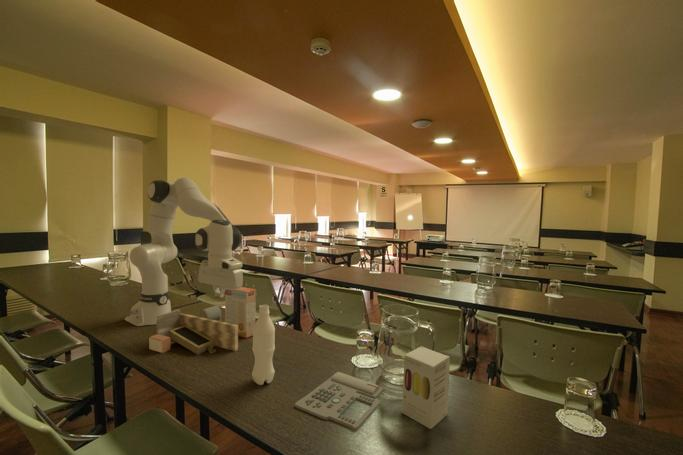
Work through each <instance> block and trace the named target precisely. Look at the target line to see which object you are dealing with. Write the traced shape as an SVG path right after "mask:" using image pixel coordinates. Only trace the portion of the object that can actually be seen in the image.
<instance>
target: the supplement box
mask: <svg viewBox="0 0 683 455" xmlns="http://www.w3.org/2000/svg"><path fill="white" fill-rule="evenodd" d="M403 358H404V359H403V382H402V384H403V385H402V405H401V407H402V408H401V413H402V414H404V415H405V416H407V417H409V418H410V419H412V420H414V421H415V422H417V423H419V424H421V425H423V426H424V427H426V428H428V429H429V430H432V429H433V428H435V426H437V425H438V424H439V423H440V422H441V421H442V420H443V419H445V417H446V416H448V409H449V408H448V407H449V386H450V367H451V366H450V364H451V358H450V356H449V355H446V354H444V353H440V352H439V351H434V350H432V349H429V348H427V347H425V346H422V345H421V346H418V347H417V348H415V349H414V350H412V351H411V350H410V352H406V353H405V354H404V357H403Z"/></svg>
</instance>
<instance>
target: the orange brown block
mask: <svg viewBox="0 0 683 455" xmlns="http://www.w3.org/2000/svg"><path fill="white" fill-rule="evenodd" d="M148 337H149V338H148V349H149V350H151V351H153V352H157V353H160V354H164V353H166V352H169V351H171V347H172V346H171V339H170V337H167V336H163V335H160V334H154V335H151V336H148Z"/></svg>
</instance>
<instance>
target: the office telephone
mask: <svg viewBox="0 0 683 455" xmlns="http://www.w3.org/2000/svg"><path fill="white" fill-rule="evenodd" d="M383 391H384V388H383V387H382V386H381V385H378V384H375V383H373V382H369V381H366V380H364V379H361V378H359V377H356V376H354V375H353V376H352V375H349V374H347V373H344V372H341V371H337V372H335V373H334V374H333V375H332V376H330V377H329V378H328V379H326V380H325V381H324V382H323V383H321V384H319V385H318V386H317V387H316V388H314V389H313V390H312V391H310V392H309V393H308V394H306V395H305V396H304V397H301V398H300V399H299V400H297V401H296V402H295V403H294V407H295V408H296V409H298V410H301V411H303V412H306V413H308V414H310V415H313V416H315V417H318V418H319V419H322V420H324V421H325V420H326V421H327V420H330V421H333V422H335V423H338V424H340V425H343V426H345V427H347V428H350V429H351V430H353V431H358V430H359V429H360V428H361V427H362V426H363V425H364V423H365V422H366V421H367V420H368V419H369V418H370V417H371V416H372V414H373V413H374V412H375V411H376V410H377V408H379V407H380V404H381V400H378V399H377V398H378V397H379V396H380V395H381V394H382V392H383ZM355 401H359V402H362V403H365V404H367V405H370V407H369V408H367V410H366V411H365V412H364V413H363V414H362V416H361V417H359V419H358V420H354V419H353V418H349V417H348V416H345V415H343V414H344V413H345V411H347V409H348V408H350V407H351V406H352V404H354V403H355Z"/></svg>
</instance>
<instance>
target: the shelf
mask: <svg viewBox="0 0 683 455" xmlns="http://www.w3.org/2000/svg"><path fill="white" fill-rule="evenodd" d="M155 325H156V326H155V327H156V329H155V330H156V334H160V335H163V336H167V337H169V331H170V330H172V329H175V328H178V327H181V326H184V325H187V326H189V327H191V328H192V329H194V330H196V331H198V332H199V333H201V334H203V335H205V336H207V337H209V338H210V339H212V340H214V341H215V343H214V346H213V347H218V348H222V349H225V350H230V351H233V352H236V351H238V350H239V336H238V325H235V324H230V323H226V322H225V321H222V320H221V321H220V320H219V321H216V320H211V319H207V318H202V317H200V316H197V315H192V314H188V313H182V312H181V309H174V310H173V311H172V310H171V312H168V313H165V314H162V315H158V316H156V324H155ZM156 334H155V335H156ZM170 339H171V338H170ZM176 343H177V342H176V341H174V340H172V339H171V345H174V344H176Z"/></svg>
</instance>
